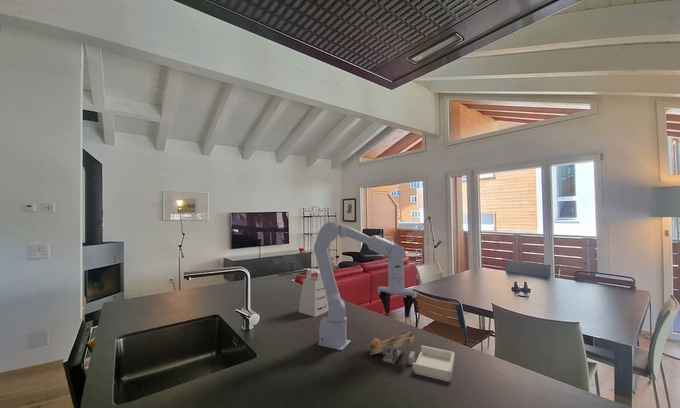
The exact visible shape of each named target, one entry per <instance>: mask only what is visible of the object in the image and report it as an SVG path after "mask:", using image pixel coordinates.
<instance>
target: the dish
mask: <svg viewBox="0 0 680 408" xmlns="http://www.w3.org/2000/svg"><path fill="white" fill-rule="evenodd" d="M420 347H421V348H420V349H421V350H420V352H419V354H418V356H417V358H416V360H415V361H414V362H413V365H412V373H413V374H415V375H420V376H422V377H423V376H424V377H426V378H427V377H428V378H432V379H436V380H440V381H444V382H447V383H451V382H452V377H453V371H454V366H455V361H456V360H455V357H456V356H455V355H456V354H455V353H456V352H455V351H451V350H446V349H441V348H437V347H436V348H435V347H431V346H426V345H421V346H420Z"/></svg>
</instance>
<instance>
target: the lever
mask: <svg viewBox="0 0 680 408" xmlns="http://www.w3.org/2000/svg"><path fill="white" fill-rule="evenodd" d="M393 337H394V338H392V337H391V338H389V339H388V338H387V339H385V340H382V341H381V340H380V341H381V346H378V347H375V348H374V347H373V346H372V341H371V342H370V343H369V344H368V345H367V347H366V348H367V349H368V353H369V355H370V356H373V355H376V354H380V353H383V352H386V344H387V345H392V346H393V349H394V348H397V347H398V348H400V347H403V346H407V345H410V344H412V343H413V341H414V339H415V335H414V333H413V331H410V330H409V331H404V332H403V333H401V335H399V336H398V335H397V336H393Z"/></svg>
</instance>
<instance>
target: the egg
mask: <svg viewBox="0 0 680 408" xmlns="http://www.w3.org/2000/svg"><path fill="white" fill-rule="evenodd" d="M371 342H372V346H373V347H374V348H375V347H378V346H381V339H380V338H378V337H374V338H372V340H371Z"/></svg>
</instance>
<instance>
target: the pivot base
mask: <svg viewBox="0 0 680 408" xmlns="http://www.w3.org/2000/svg"><path fill="white" fill-rule="evenodd" d="M394 337H395V336H391V338H394ZM401 354H402V351H401V350H399V347H397V348H394V349H393V346H392V345H387V344H386V351H385V355H384V356H383V358H382V359H381V362H383V361H384V363H387V362H388V364H391V363H392V365H395V364H396V363H395V362H397V360H398V359H399V357H400V355H401ZM407 358H408V360H407V362H408V363H407V365H409V366H413V362H414V363H415V361H416V351H413V350H411V351H410V354H409V355H408V356H407Z"/></svg>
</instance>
